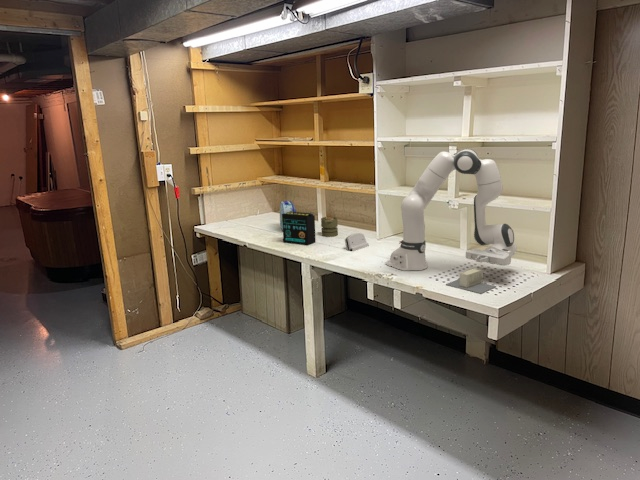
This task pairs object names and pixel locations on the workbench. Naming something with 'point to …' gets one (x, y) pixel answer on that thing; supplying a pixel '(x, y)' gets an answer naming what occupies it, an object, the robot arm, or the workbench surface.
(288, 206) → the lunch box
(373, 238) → the workbench surface
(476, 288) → the mat
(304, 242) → the battery
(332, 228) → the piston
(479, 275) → the skincare box
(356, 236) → the hinge
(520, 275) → the workbench surface
